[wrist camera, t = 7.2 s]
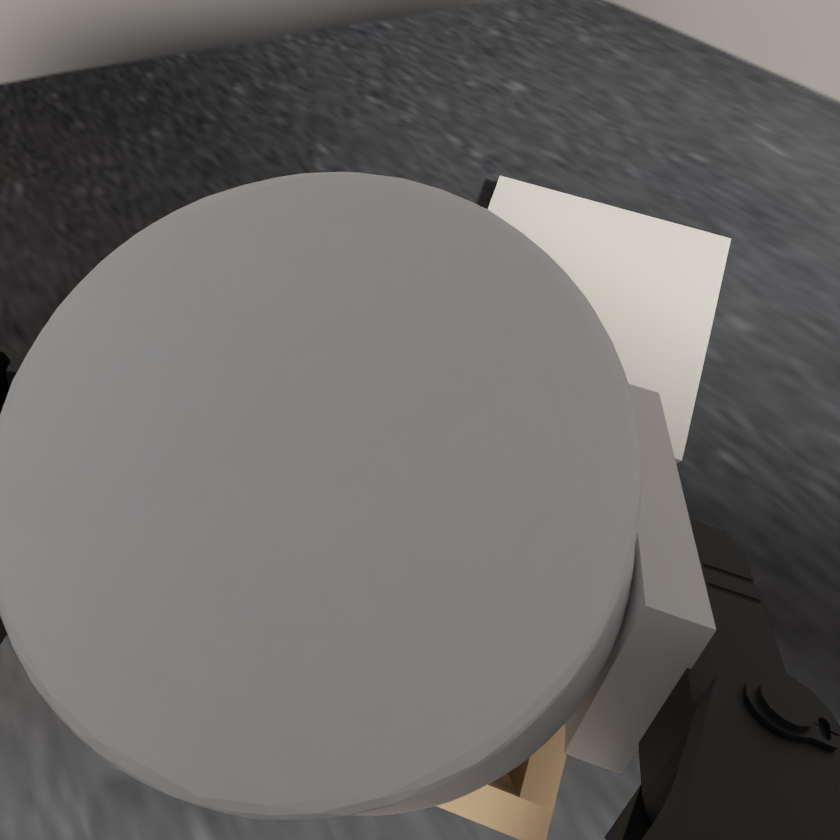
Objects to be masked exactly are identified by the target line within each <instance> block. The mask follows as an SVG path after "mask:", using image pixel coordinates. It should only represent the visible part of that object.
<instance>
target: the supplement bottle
mask: <svg viewBox="0 0 840 840" xmlns="http://www.w3.org/2000/svg"><path fill="white" fill-rule="evenodd" d="M641 490H642V445H641V440H640V435H639V429H638V424H637V419H636V413H635V408H634V403H633V397H632V394H631V391H630V387H629V384H628V381H627V378H626V374H625V371H624V369H623V366H622V364H621V362H620V359H619V357H618V354H617V352H616V350H615V347H614V345H613V342H612V340H611V338H610V337H609V335H608V333H607V331H606V330H605V328H604V326H603V324H602V323H601V321H600V319H599V317H598V316H597V314H596V312H595V310H594V309H593V307H592V306H591V304H590V303H589V301H588V300H587V298H586V297H585V295H584V294H583V293H582V292H581V290H580V289H579V288H578V287H577V286H576V284H575V283H574V282H573V281H572V280H571V278H570V277H569V276H568V275H567V273H566V272H565V271H564V270H563V269H562V268H561V267H560V266H559V265H558V264H557V263H556V262H555V261H554V260H553V259H552V258H551V257H550V256H549V255H548V254H547V253H546V252H545V251H543V250H542V249H541V248H540V247H539V246H537V245H536V244H535V243H534V242H533V241H532V240H530V239H529V238H528V237H527V236H526V235H524V234H523V233H522V232H520V231H519V230H517V229H516V228H515V227H513V226H512V225H510V224H509V223H507V222H506V221H504V220H503V219H501V218H500V217H498V216H497V215H495V214H494V213H492V212H491V211H489V210H488V209H486V208H484V207H481V206H479V205H477V204H475V203H473V202H470V201H468V200H466V199H463V198H461V197H459V196H456V195H454V194H451V193H449V192H447V191H444V190H442V189H438V188H435V187H431V186H428V185H425V184H421V183H418V182H414V181H411V180H408V179H404V178H396V177H389V176H381V175H374V174H366V173H355V172H324V173H301V174H295V175H289V176H282V177H276V178H271V179H267V180H263V181H258V182H254V183H250V184H246V185H242V186H239V187H236V188H232V189H229V190H226V191H223V192H220V193H216V194H213V195H210V196H207V197H204V198H202V199H200V200H198V201H195V202H193V203H191V204H189V205H187V206H184V207H182V208H180V209H178V210H176V211H174V212H172V213H170V214H169V215H167V216H165V217H163V218H161V219H159V220H158V221H156V222H154V223H153V224H151V225H149V226H148V227H146V228H145V229H143V230H141V231H140V232H138V233H137V234H135V235H134V236H133V237H131V238H130V239H129V240H127V241H126V242H125V243H123V244H122V245H121V246H119V247H118V248H117V249H115V250H114V251H113V252H112V253H111V254H109V255H108V256H107V257H106V258H105V259H103V260H102V261H101V262H100V263H99V264H98V265H97V266H96V267H95V268H94V269H93V270H92V271H91V272H90V273H89V274H88V275H87V276H86V277H85V278H84V279H83V280H82V281H81V282H80V283H79V284H78V285H77V286H76V287H75V288H74V289H73V290H72V292H71V293H70V294H69V295H68V296H67V297H66V298H65V300H64V301H63V302H62V303H61V304H60V305H59V306H58V308H57V309H56V310H55V312H54V313H53V315H52V316H51V318H50V319H49V321H48V322H47V324H46V325H45V326H44V328H43V329H42V331H41V332H40V334H39V335H38V337H37V339H36V340H35V342H34V343H33V345H32V347H31V348H30V350H29V352H28V353H27V355H26V357H25V359H24V361H23V362H22V364H21V366H20V368H19V370H18V371H17V373H16V375H15V377H14V379H13V381H12V383H11V386H10V389H9V392H8V394H7V397H6V400H5V403H4V405H3V408H2V411H1V414H0V616H1V619H2V621H3V624H4V627H5V629H6V632H7V634H8V637H9V639H10V642H11V644H12V647H13V649H14V651H15V653H16V654H17V656H18V658H19V660H20V661H21V663H22V665H23V667H24V669H25V671H26V673H27V675H28V677H29V679H30V681H31V683H32V684H33V685H34V686H35V688H36V689H37V690H38V692H39V693H40V694H41V696H42V697H43V698H44V700H45V701H46V702H47V704H48V705H49V706H50V707H51V709H52V710H53V711H54V713H55V714H56V715H57V716H58V717H59V718H60V719H61V720H62V721H63V722H64V723H65V724H66V725H67V726H68V727H69V729H70V730H71V731H72V732H73V733H74V734H75V735H76V736H77V737H78V738H79V739H80V740H81V741H83V742H84V743H85V744H87V745H88V746H89V747H90V748H92V749H93V750H94V751H96V752H97V753H98V754H99V755H100V756H102V757H103V758H104V759H105V760H106V761H107V762H109V763H111V764H112V765H114V766H115V767H117V768H118V769H120V770H121V771H123V772H124V773H126V774H127V775H129V776H131V777H132V778H134V779H136V780H138V781H140V782H142V783H143V784H145V785H147V786H149V787H152V788H154V789H156V790H159V791H161V792H163V793H165V794H168V795H170V796H173V797H175V798H178V799H180V800H183V801H186V802H188V803H191V804H194V805H196V806H199V807H203V808H207V809H211V810H215V811H219V812H223V813H227V814H231V815H235V816H240V817H244V818H248V819H265V820H308V819H323V818H337V817H342V816H347V815H356V816H378V815H391V814H400V813H406V812H413V811H418V810H421V809H425V808H429V807H433V806H437V805H440V804H444V803H448V802H450V801H453V800H455V799H458V798H460V797H463V796H465V795H468V794H470V793H472V792H474V791H476V790H478V789H480V788H482V787H484V786H486V785H487V784H489V783H491V782H493V781H495V780H497V779H499V778H500V777H502V776H503V775H505V774H506V773H508V772H510V771H511V770H513V769H514V768H516V767H518V766H519V765H521V764H522V763H523V762H524V761H526V760H527V759H528V758H529V757H530V756H531V755H533V754H534V753H535V752H536V751H537V750H538V749H540V748H541V747H542V746H543V745H544V744H545V743H546V742H547V741H548V740H549V739H550V738H551V737H552V736H553V735H554V734H555V733H556V732H557V731H558V730H559V729H560V728H561V727H562V726H563V725H564V724H565V723H566V721H567V720H568V719H569V718H570V717H571V715H572V714H573V713H574V711H575V710H576V709H577V707H578V706H579V705H580V703H581V702H582V701H583V699H584V698H585V697H586V695H587V694H588V693H589V691H590V689H591V688H592V686H593V684H594V682H595V680H596V679H597V677H598V675H599V673H600V672H601V670H602V668H603V666H604V664H605V663H606V661H607V659H608V657H609V655H610V653H611V651H612V648H613V646H614V643H615V641H616V638H617V635H618V633H619V630H620V628H621V624H622V621H623V617H624V613H625V610H626V606H627V602H628V599H629V594H630V588H631V581H632V575H633V568H634V554H635V542H636V537H637V533H638V527H639V516H640V505H641Z"/></svg>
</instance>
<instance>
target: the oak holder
mask: <svg viewBox="0 0 840 840" xmlns="http://www.w3.org/2000/svg"><path fill="white" fill-rule="evenodd" d="M565 725H566V723H565V724H564V725H563V726H562V727H561V728H560V729H559V730H558V731H557V732H556V733H555V734H554V735H553V736H552V737H551V738H550V739H549V740H548V741H547V742H546V743H545V744H544V745H543V746H542V747H541V748H540V749H538V750H537V751H536V752H535V753H534V754H533V755H531V756H530V757H529V758H528V759H527V760H526V761H524V762H523V763H522V764H521V765H519V766H518V767H516V768H514V769H513V770H511V771H510V772H509V774H505V775H503V776H502V777H500V778H499V779H497V780H495V781H493V782H491V783H489V784H487V785H486V786H484V787H482V788H480V789H478V790H476V791H474V792H472V793H470V794H468V795H465V796H463V797H460V798H458V799H455V800H453V801H450V802H448V803H444V804H440V805H437V807H440V808H442V809H445V810H447V811H450V812H452V813H455V814H457V815H460V816H462V817H465V818H467V819H470V820H472V821H475V822H477V823H480V824H482V825H484V826H487V827H489V828H492V829H494V830H497V831H499V832H502V833H504V834H507V835H509V836H512V837H514V838H517V839H519V840H546V838H547V834H548V830H549V826H550V822H551V818H552V814H553V810H554V805H555V801H556V797H557V793H558V789H559V785H560V781H561V777H562V773H563V768H564V764H565V760H566V756H567V754H564V745H565Z"/></svg>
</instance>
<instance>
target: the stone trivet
mask: <svg viewBox="0 0 840 840" xmlns="http://www.w3.org/2000/svg"><path fill="white" fill-rule="evenodd" d="M488 210H489V211H491V212H492V213H494V214H495V215H497V216H498V217H500V218H501V219H503V220H504V221H506V222H507V223H509V224H510V225H512V226H513V227H515V228H516V229H517V230H519V231H520V232H522V233H523V234H524V235H526V236H527V237H528V238H529V239H530V240H532V241H533V242H534V243H535V244H536V245H537V246H539V247H540V248H541V249H542V250H543V251H545V252H546V253H547V254H548V255H549V256H550V257H551V258H552V259H553V260H554V261H555V262H556V263H557V264H558V265H559V266H560V267H561V268H562V269H563V270H564V271H565V272H566V273H567V275H568V276H569V277H570V278H571V280H572V281H573V282H574V283H575V284H576V286H577V287H578V288H579V289H580V290H581V292H582V293H583V294H584V295H585V297H586V298H587V300H588V301H589V303H590V304H591V306H592V307H593V309H594V310H595V312H596V314H597V316H598V317H599V319H600V321H601V323H602V324H603V326H604V328H605V330H606V331H607V333H608V335H609V337H610V338H611V340H612V342H613V345H614V347H615V350H616V352H617V354H618V357H619V359H620V362H621V364H622V366H623V369H624V371H625V374H626V378H627V381H628V384H631V385H634V386H638V387H641V388H644V389H648V390H651V391H654V392H658V393H659V395H660V399H661V403H662V407H663V411H664V416H665V420H666V424H667V428H668V432H669V436H670V440H671V444H672V449H673V453H674V457H675V461H676V464H677V463H679V462H681V461H682V458H683V454H684V449H685V445H686V440H687V436H688V431H689V427H690V422H691V418H692V413H693V409H694V404H695V400H696V395H697V391H698V386H699V382H700V377H701V373H702V368H703V364H704V359H705V355H706V350H707V346H708V341H709V337H710V332H711V328H712V323H713V319H714V314H715V310H716V305H717V301H718V296H719V292H720V287H721V283H722V278H723V274H724V269H725V264H726V260H727V255H728V251H729V246H730V242H731V238H727V237H724V236H720V235H716V234H713V233H709V232H705V231H702V230H698V229H694V228H691V227H687V226H683V225H680V224H676V223H672V222H668V221H665V220H661V219H657V218H654V217H650V216H646V215H643V214H639V213H635V212H632V211H628V210H624V209H621V208H617V207H613V206H610V205H606V204H602V203H599V202H595V201H591V200H588V199H584V198H580V197H577V196H573V195H569V194H566V193H562V192H558V191H555V190H551V189H547V188H544V187H540V186H536V185H533V184H529V183H525V182H522V181H518V180H514V179H511V178H507V177H503V176H500V177H499V179H498V182H497V185H496V188H495V190H494V193H493V196H492V198H491V201H490V204H489V207H488Z"/></svg>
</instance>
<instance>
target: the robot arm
mask: <svg viewBox="0 0 840 840" xmlns="http://www.w3.org/2000/svg"><path fill="white" fill-rule="evenodd" d="M21 364H22V360H21V358H20V356H19V354H18V353H16V352H14V351H13V350H11V349H9V348H8V347H5V346H1V345H0V414H1V411H2V408H3V405H4V403H5V400H6V397H7V394H8V392H9V389H10V386H11V383H12V381H13V379H14V377H15V375H16V373H17V371H18V370H19V368H20V366H21ZM629 387H630V391H631V394H632V397H633V403H634V408H635V413H636V419H637V424H638V429H639V435H640V440H641V445H642V490H641V505H640V516H639V527H638V533H637V537H636V542H635V554H634V568H633V575H632V581H631V588H630V594H629V599H628V602H627V606H626V610H625V613H624V617H623V621H622V624H621V628H620V630H619V633H618V635H617V638H616V641H615V643H614V646H613V648H612V651H611V653H610V655H609V657H608V659H607V661H606V663H605V664H604V666H603V668H602V670H601V672H600V673H599V675H598V677H597V679H596V680H595V682H594V684H593V686H592V688H591V689H590V691H589V693H588V694H587V695H586V697H585V698H584V699H583V701H582V702H581V703H580V705H579V706H578V707H577V709H576V710H575V711H574V713H573V714H572V715H571V717H570V718H569V719H568V720H567V721H566V725H565V745H564V754H567V755H570V756H572V757H575V758H577V759H580V760H583V761H585V762H588V763H590V764H593V765H596V766H598V767H601V768H603V769H606V770H609V771H611V772H614V773H616V774H619V775H622V774H623V773H624V771H625V770H626V768H627V766H628V765H629V763H630V762H631V760H632V759H633V757H634V756H635V754H636V753H637V751H638V750H639V758H640V772H641V785H640V787H639V788H638V790H637V791H636V792H635V794H634V795H633V797H632V798H631V800H630V801H629V803H628V804H627V806H626V807H625V808H624V810H623V811H622V813H621V814H620V816H619V817H618V819H617V820H616V822H615V823H614V824H613V826H612V827H611V829H610V830H609V832H608V833H607V835H606V836H605V839H606V840H840V726H839V724H838V723H837V721H836V719H835V718H834V716H833V715H832V713H831V712H830V710H829V709H828V708H827V707H826V706H825V705H824V704H823V703H822V702H821V701H820V700H819V699H818V698H817V697H816V696H815V695H814V694H813V693H812V692H811V691H810V690H809V689H808V688H807V687H805V686H804V685H802V684H801V683H799V682H798V681H796V680H795V679H794V678H792V677H791V676H789V675H788V674H786V671H785V668H784V665H783V662H782V660H781V657H780V654H779V651H778V648H777V645H776V642H775V640H774V637H773V634H772V631H771V628H770V625H769V623H768V620H767V617H766V614H765V611H764V608H763V605H760V597H759V594H758V591H757V588H756V585H754V584H753V577H752V574H751V571H750V568H749V566H748V563H747V560H746V557H745V555H744V554H743V553H742V552H741V550H740V549H739V548H738V547H737V546H736V544H735V543H734V542H733V541H732V540H731V538H730V537H729V536H728V535H727V533H726V532H725V531H722V530H719V529H716V528H712V527H709V526H706V525H703V524H700V523H697V522H694V521H691V520H690V519H689V515H688V511H687V507H686V502H685V498H684V494H683V490H682V486H681V482H680V478H679V473H678V469H677V465H676V461H675V457H674V453H673V449H672V444H671V440H670V436H669V432H668V428H667V424H666V420H665V416H664V411H663V407H662V403H661V399H660V395H659V393H658V392H654V391H651V390H648V389H644V388H641V387H638V386H634V385H631V384H629ZM6 635H7V632H6V629H5V627H4V624H3V621H2V619H1V616H0V644H1V643H2V641H3V639H4V638H5V636H6Z"/></svg>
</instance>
